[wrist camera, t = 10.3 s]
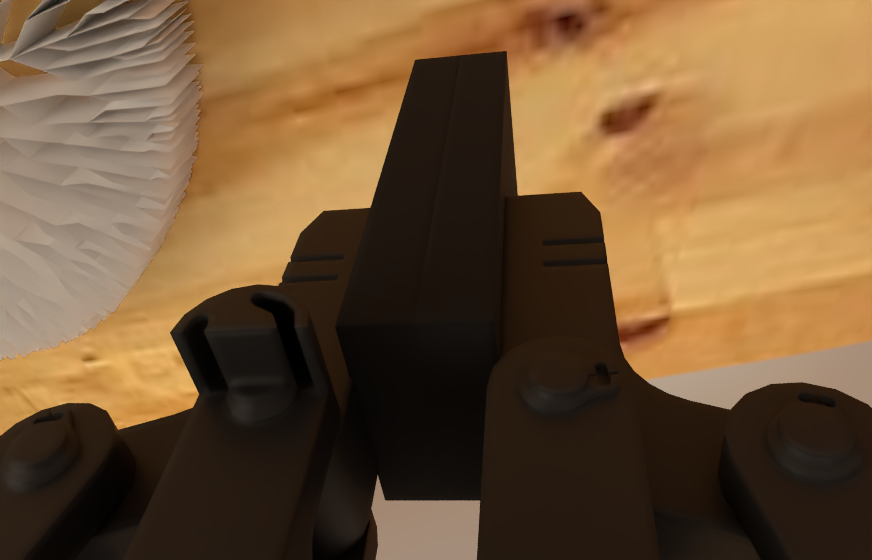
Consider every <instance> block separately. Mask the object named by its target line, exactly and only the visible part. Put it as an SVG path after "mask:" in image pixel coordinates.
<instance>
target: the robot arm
mask: <svg viewBox="0 0 872 560" xmlns="http://www.w3.org/2000/svg"><path fill="white" fill-rule="evenodd" d="M290 258H291V262H288V264H287V267H286V269H285V272H284V274H283V276H282V283H280V284H279V286H270V285H252V286H246V287H240V288H235V289H231V290H228V291H226V292H223V293H221V294H218V295H216V296H213V297H211V298H209V299H206V300H205V301H203V302H202V303H201V304H199V305H198V306H196V307H195V308H193V309H192V310H190V311H189V312H188V313H186V314H185V315H184V316H183V317H182V319H181V320H180V321H179V322H178V323H177V325H176V326H175V327H174V328H173V329H172V331H171V332H170V334H171V336H172V338H173V340H174V342H175V344H176V346H177V348H178V350H179V352H180V355H181V357H182V359H183V361H184V363H185V365H186V367H187V369H188V371H189V373H190V376H191V378H192V380H193V382H194V384H195V386H196V388H197V390H198V392H199V396H198V398H197V401H196V403H195V405H194V407H193V408H191V409H188V410H185V411H183V412H180V413H177V414H174V415H171V416H167V417H163V418H160V419H156V420H153V421H149V422H145V423H142V424H138V425H135V426H131V427H127V428H124V429H120V430H118V429H117V427H116V426H115V424H114V422H113V421H112V419H111V417H110V416H109V414H108V412H107V411H106V410H103V409H101V408H99V407H97V406H95V405H93V404H90V403H66V404H63V405H59V406H55V407H52V408H48V409H44V410H41V411H39V412H37V413H35V414H34V415H32V416H30V417H28V418H26V419H24V420H22V421H20V422H18V423H16V424H15V425H14V426H12V427H11V428H10V429H9V430H7V431H6V432H5V433H4V434H2V435H1V436H0V560H375V559H376V553H377V547H378V542H377V526H376V522H375V520H374V516H373V513H372V510H371V506H372V502H373V496H374V491H375V486H376V480H377V475H378V476H379V480H380V483H381V487H382V490H383V494H384V497H385V500H480V516H479V533H478V551H477V560H872V408H871V407H870V406H869V405H868V404H866V403H863V402H861V401H859V400H857V399H855V398H853V397H851V396H849V395H847V394H845V393H843V392H840V391H838V390H836V389H832V388H827V387H822V386H817V385H812V384H807V383H783V384H770V385H768V386H765V387H762V388H760V389H757V390H755V391H752V392H749V393H747V394H745V395H744V396H743V397H742V398H741V399H740V401H738V403H737V404H736V405H735V406H734V407H733V408H732V409H731V410H729V409H724V408H720V407H715V406H711V405H707V404H702V403H698V402H693V401H689V400H686V399H683V398H680V397H676V396H674V395H671V394H668V393H666V392H664V391H662V390H660V389H658V388H656V387H655V386H652V385H651V384H649V383H648V382H647V381H645V380H644V379H643V378H642V377H641V376H639V375H638V374H637V373H636V372H635V371H634V370H633V369H632V367H631V366H630V365H629V363H628V362H627V361H626V359H625V358H624V355H623V352H622V349H621V346H620V342H619V335H618V328H617V322H616V315H615V308H614V302H613V295H612V288H611V282H610V275H609V268H608V264H607V255H606V248H605V242H604V235H603V228H602V221H601V214H600V212H599V211H598V209H597V208H596V207H595V206H594V205H593V204H592V203H591V202H590V201H589V200H588V199H587V198H586V197H585V196H584V195H583V193H582V192H569V193H554V194H538V195H523V196H518V194H517V181H516V168H515V155H514V142H513V129H512V116H511V103H510V90H509V77H508V65H507V52H506V51H502V52H492V53H481V54H471V55H460V56H450V57H440V58H429V59H419V60H415V62H414V66H413V69H412V72H411V76H410V79H409V82H408V85H407V89H406V92H405V95H404V99H403V102H402V105H401V109H400V112H399V115H398V119H397V122H396V125H395V129H394V132H393V135H392V139H391V142H390V145H389V148H388V152H387V155H386V158H385V162H384V165H383V168H382V172H381V175H380V178H379V182H378V185H377V188H376V192H375V195H374V198H373V202H372V205H371V208H363V209H348V210H332V211H323V212H322V213H321V214H320V215H319V216H318V217H317V218H316V219H315V220H314V221H313V222H312V223H311V224H310V225H309V226H308V227H306V228H305V229H304V230H303V231H302V232H301V233H300V236H299V238H298V241H297V243H296V245H295V248H294V250H293V253H292V255H291V257H290Z"/></svg>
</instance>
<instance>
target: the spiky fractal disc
mask: <svg viewBox="0 0 872 560" xmlns="http://www.w3.org/2000/svg"><path fill="white" fill-rule="evenodd" d="M69 1H71V0H42V2H41V3H40V4H39V5H38V6H37V7H36V9H35V10H34V11H33V12H32V13H31V15H30V16H29V17H28V18H27V19H26V20H25V22H24V25H23V27H22V30H21V32H20V34H19V37H18V39H17V40H16V41H12V42H9V43H5V44H2V41H3V38H4V34H5V30H6V26H7V23H8V19H9V15H10V12H11V8H12V4H13V0H3V1H1V2H0V62H2V61H6V60H12V61H15V62H18V63H21V64H24V65H27V66H30V67H33V68H36V69H39V70H42V71H45V72H48V73H44V74H35V75H27V76H18V77H15V76H13V75H12V74H10V73H9V72H7V71H6V70H4V69H3V68H1V67H0V361H1V360H2V358H3V357H4V360H5V359H6V358H7V357H9V358H10V359H11V360H12V359H13V358H14V359H15V358H16V357H17V356H18V354H19V353H20V354H21V355H22V357H23V358H24V357H25V356H26V355H27V353H28V354H30V353H31V352H34V350H35V351H38V350H39V349H41V350H42V351H43V352H44V351H45V349H46V348H48V349H50V347H52V348H53V349H54V348H55V347H56V346H57V347H58V346H59V345H60V343H61V342H62V341H64V342H65V343H66V342H67V341H69V342H70V341H71V340H74V338H75V337H76V338H78V336H79V335H81V336H83V335H84V333H85V334H86V332H87V331H88V329H89V328H92V329H93V330H94V329H95V327H96V326H97V324H98V323H99V322H100V320H101V319H102V321H103V322H104V321H105V320H106V318H107V317H108V315H110V314H111V312H113V313H114V312H115V310H116V309H117V307H118V306H119V304H120V303H121V302H123V300H124V299H125V297H126V296H127V294H128V293H129V292H130V290H131V289H132V288H133V286H134V285H135V283H136V282H137V280H138V279H139V278H140V276H141V275H142V273H143V272H144V270H145V269H146V268H147V266H148V265H149V263H150V262H151V260H152V259H153V257H154V256H155V255H156V253H157V252H158V250H159V249H160V246H161V245H162V243H163V242H164V240H165V239H166V237H164V236H165V235H166V233H167V232H168V231H169V229H170V228H171V226H172V225H173V223H174V222H175V221H176V219H174V217H175V215H176V214H177V212H178V210H179V209H180V208H179V207H178V205H179V204H180V202H181V201H182V199H183V198H184V197H185V195H186V194H187V193H185V192H184V191H185V189H186V188H187V187H188V184H189V183H190V182H189V181H188V180H189V179H190V178H191V176H192V175H190V174H191V173H192V172H193V170H191V169H192V167H193V166H192V164H193V163H194V162H195V160H196V159H197V158H198V157H197V156H192V154H193V153H194V151H195V150H196V149H197V147H196V146H197V145H198V144H199V143H198V142H197V141H198V140H199V138H197V137H196V136H197V135H198V133H199V132H195V131H196V129H197V128H198V127H199V126H200V125H195V123H196V122H197V121H198V120H199V119H200V117H197V115H198V114H199V113H200V112H201V111H202V110H197V108H198V107H199V105H200V104H198V105H195V104H196V103H197V102H198V101H199V100H200V98H201V97H202V95H203V93H204V92H200V91H199V89H200V88H201V87H202V86H196V85H197V84H198V83H199V82H200V81H197V82H192V81H193V80H194V79H195V77H196V76H197V75H198V74H199V73H200V72H197V71H198V70H199V69H200V68H201V67H202V66H203V65H204V64H194V65H186V64H187V63H188V62H189V61H190V60H191V59H192V58H193V57H194V56H195V55H196V54H197V53H196V54H189V55H185V54H186V53H187V52H188V51H189V50H190V49H191V48H192V47H193V46H194V45H195V44H196V43H185V44H181V43H182V42H183V41H184V40H185V39H187V38H188V37H189V36H190V35H191V34H192V33H193V32H194V31H195V30H193V31H188V32H183V31H184V30H185V29H186V28H187V27H189V26H190V25H191V24H192V23H193V22H194V21H195V20H194V21H190V22H187V23H183V24H181V23H182V22H183V21H184V20H185V19H186V18H188V17H189V16H190V15H191V14H192V13H191V14H187V15H184V16H181V17H179V16H180V15H181V14H182V13H183V12H184V11H185V10H186V9H187V8H188V7H189V6H188V7H187V8H186V9H185V10H184V11H182V12H181V13H180V14H179V15H178V16H177V17H175V18H174V19H171V20H168V21H165V20H167V19H168V18H169V17H170V16H171V15H173V14H174V13H175V12H176V11H177V10H179V9H180V8H181V7H182V6H183V5H185V4H186V3H187V2H188V1H190V0H186V1H182V2H179V3H175V4H172V5H170V4H171V3H172V2H174V1H175V0H133V1H130V2H127V3H124V2H125V1H127V0H106V1H104V2H103V3H101V4H100V5H98V6H97V7H95V8H94V9H92V10H91V11H89V12H87V13H86V14H85V15H84V16H83V17H82V19H80V20H78V21H75V22H73V23H70V24H68V25H65V26H63V27H60V28H58V29H56V27H57V24H58V22H59V20H60V18H61V15H62V13H63V11H64V9H65V6H66V4H67V2H69ZM122 3H124V4H122ZM120 4H121V5H120ZM164 21H165V22H164Z"/></svg>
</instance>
